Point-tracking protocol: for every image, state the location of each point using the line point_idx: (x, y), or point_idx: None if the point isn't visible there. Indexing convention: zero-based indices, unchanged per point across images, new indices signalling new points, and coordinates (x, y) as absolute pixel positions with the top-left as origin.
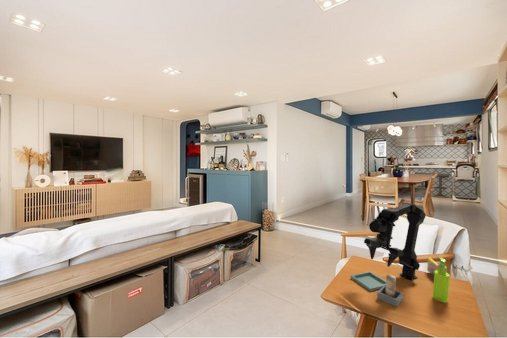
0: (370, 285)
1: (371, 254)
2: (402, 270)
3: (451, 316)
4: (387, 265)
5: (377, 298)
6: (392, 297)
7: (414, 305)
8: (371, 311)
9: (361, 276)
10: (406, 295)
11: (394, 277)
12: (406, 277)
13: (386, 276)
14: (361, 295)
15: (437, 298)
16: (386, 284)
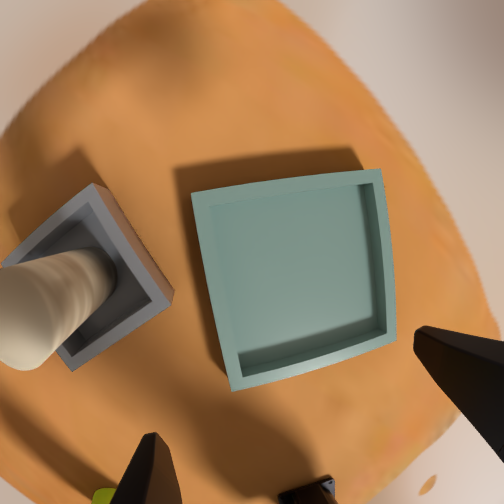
0: (262, 248)
1: (474, 351)
2: (326, 501)
3: (9, 443)
4: (148, 441)
5: (105, 189)
6: (25, 252)
7: (53, 376)
8: (41, 96)
9: (373, 258)
10: (140, 408)
11: (5, 352)
12: (295, 492)
13: (20, 274)
14: (176, 117)
15: (102, 494)
16: (51, 258)
